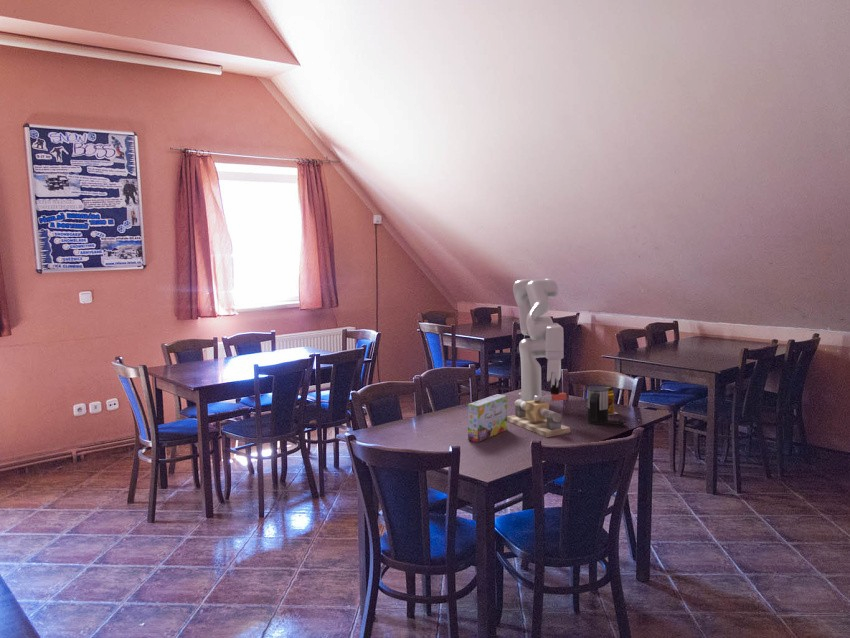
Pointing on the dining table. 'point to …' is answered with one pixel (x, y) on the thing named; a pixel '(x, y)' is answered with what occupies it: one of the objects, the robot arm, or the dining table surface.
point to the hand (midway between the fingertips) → (554, 396)
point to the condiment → (610, 401)
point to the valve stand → (538, 418)
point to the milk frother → (599, 406)
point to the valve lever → (550, 397)
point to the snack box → (487, 417)
